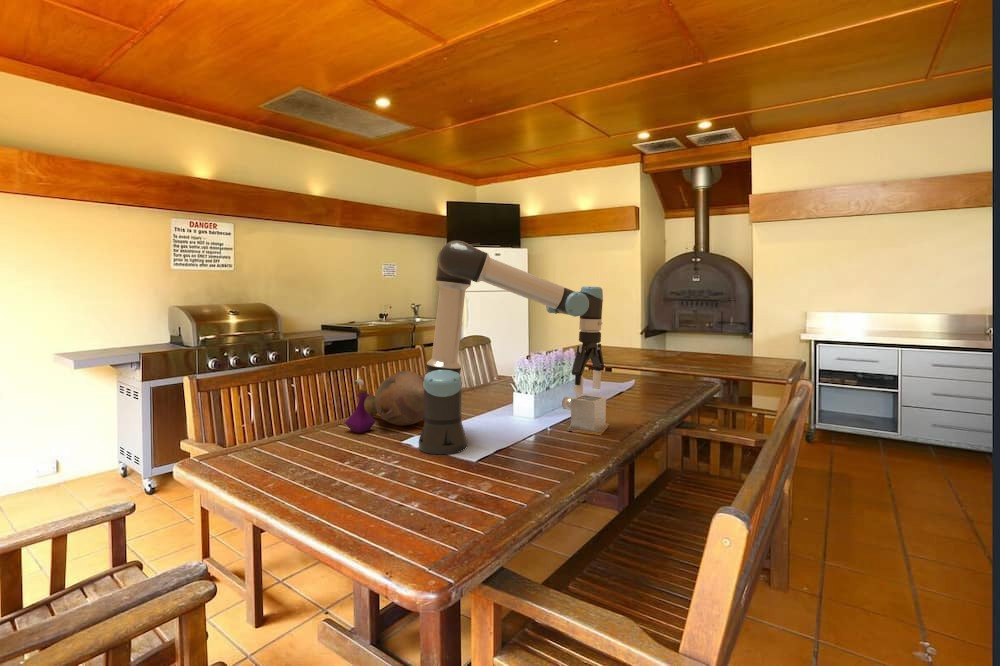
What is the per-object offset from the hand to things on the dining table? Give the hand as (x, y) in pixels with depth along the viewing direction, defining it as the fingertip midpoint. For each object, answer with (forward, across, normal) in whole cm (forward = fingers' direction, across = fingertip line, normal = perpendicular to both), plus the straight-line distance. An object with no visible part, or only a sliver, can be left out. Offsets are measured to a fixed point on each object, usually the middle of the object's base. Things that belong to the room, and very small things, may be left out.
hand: (587, 391), depth 180 cm
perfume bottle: (+16, -49, +61) cm, 80 cm away
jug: (+15, -35, +61) cm, 72 cm away
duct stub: (+14, 0, 0) cm, 14 cm away
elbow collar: (+12, +1, +2) cm, 13 cm away
